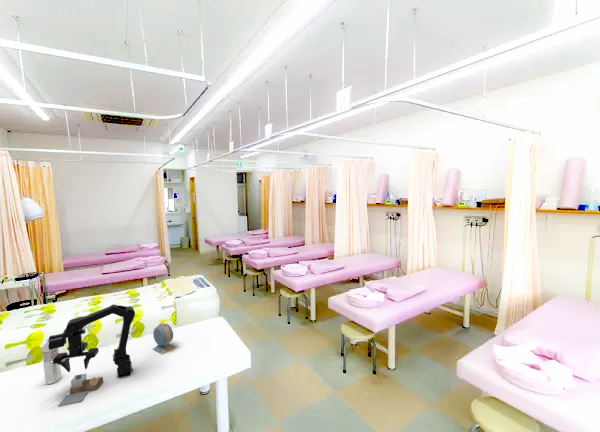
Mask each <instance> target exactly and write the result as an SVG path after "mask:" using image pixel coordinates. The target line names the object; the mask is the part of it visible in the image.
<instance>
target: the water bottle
mask: <svg viewBox="0 0 600 432" xmlns="http://www.w3.org/2000/svg"><path fill="white" fill-rule="evenodd" d="M48 345H49V338H48V339H46V342H45V343H44V345H43V346H42V347H41V351H42V360H43V362H42V363H43V372H44V380H45V381H44V382H45V384H46V385H53V384H55V383H57V382H59V381H60V380H61V379H62V369H61V365H58V363H57V364H53V359H54V358H55V357H56V356H57V355H58V354H59V353H60V352H59V348H56V349H52V350H49V347H48Z"/></svg>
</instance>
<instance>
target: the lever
mask: <svg viewBox="0 0 600 432" xmlns="http://www.w3.org/2000/svg"><path fill="white" fill-rule="evenodd" d="M98 378H99V377H95V376H94V377H92V378H90V379H91V381H90V382H89V383H90V386H95V385H97V383H98V382H99V380H98Z"/></svg>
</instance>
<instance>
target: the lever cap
mask: <svg viewBox="0 0 600 432" xmlns="http://www.w3.org/2000/svg"><path fill="white" fill-rule="evenodd" d="M87 380H88V379H87V373H81V374H80V373H79V374H75V375H74V376H73V378H72V379H71V380H70V388H76V387H81V386H83V385H84V383H85V382H86V381H87Z"/></svg>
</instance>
